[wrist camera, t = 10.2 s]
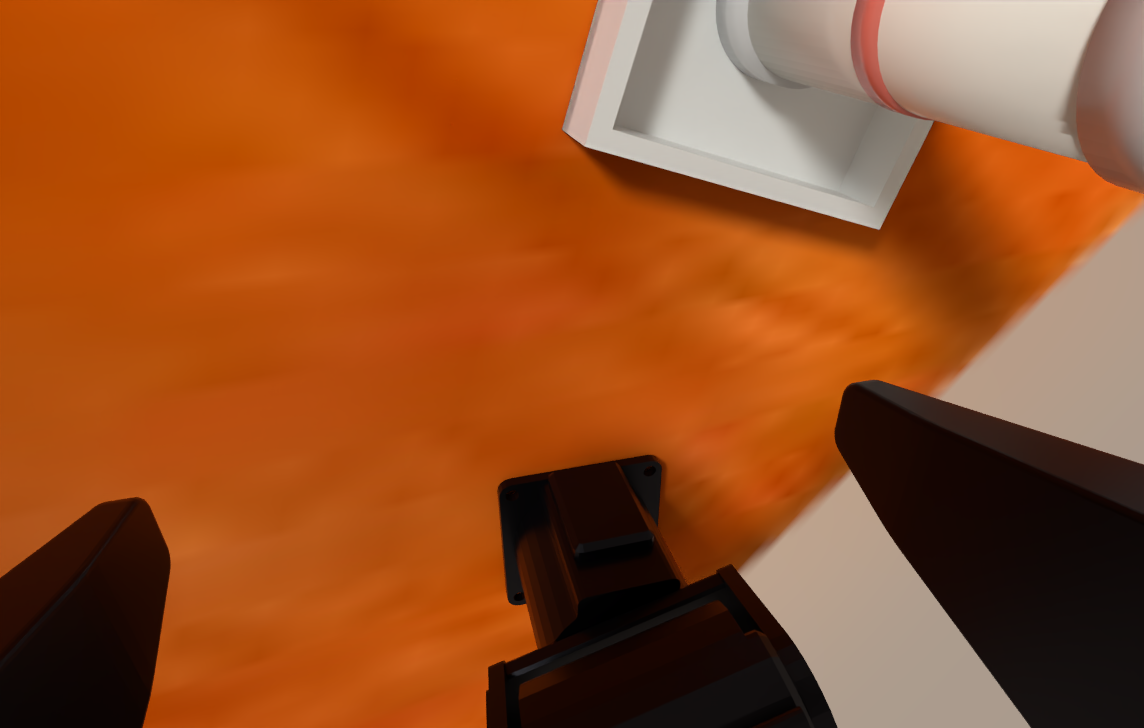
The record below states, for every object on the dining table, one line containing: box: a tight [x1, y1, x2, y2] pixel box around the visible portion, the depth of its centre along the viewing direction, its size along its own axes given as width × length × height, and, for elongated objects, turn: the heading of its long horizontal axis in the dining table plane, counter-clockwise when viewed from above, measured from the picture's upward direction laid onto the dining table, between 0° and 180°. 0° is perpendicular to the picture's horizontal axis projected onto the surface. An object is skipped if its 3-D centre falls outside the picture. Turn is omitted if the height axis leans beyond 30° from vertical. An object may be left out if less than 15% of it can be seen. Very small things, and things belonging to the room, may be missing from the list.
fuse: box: [716, 0, 1144, 194], centre depth 13 cm, size 4×4×13 cm
